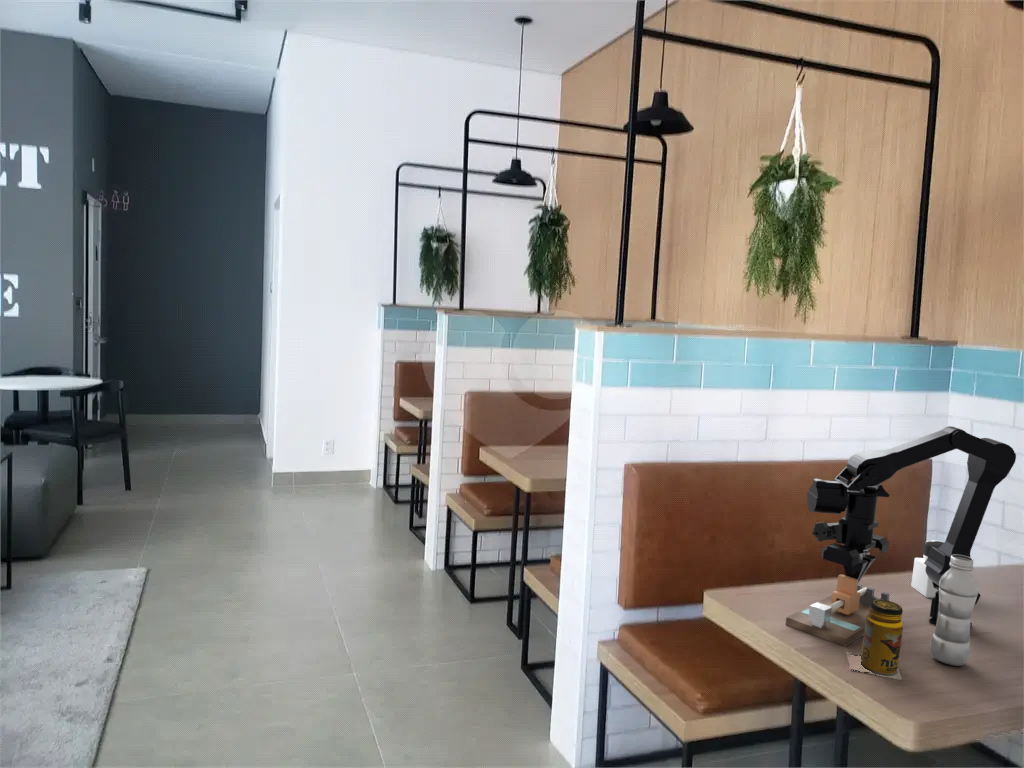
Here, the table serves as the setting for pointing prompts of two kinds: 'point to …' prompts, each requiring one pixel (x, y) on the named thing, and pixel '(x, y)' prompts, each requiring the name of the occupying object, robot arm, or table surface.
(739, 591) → the table surface
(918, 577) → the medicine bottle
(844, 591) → the orange stepped block
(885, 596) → the cable comb
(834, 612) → the cord board
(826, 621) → the block
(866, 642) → the condiment
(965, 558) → the plastic bottle
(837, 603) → the cord
